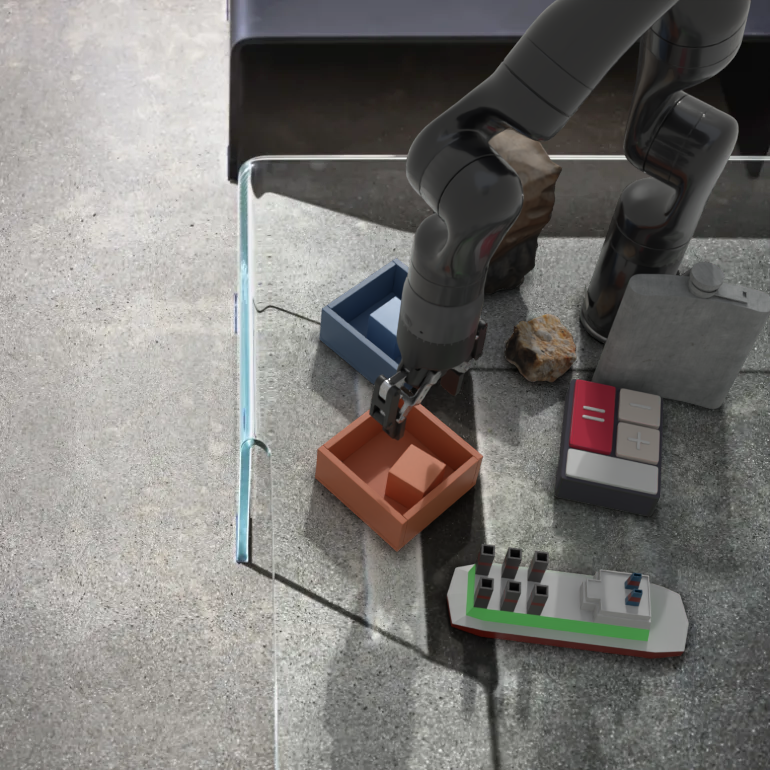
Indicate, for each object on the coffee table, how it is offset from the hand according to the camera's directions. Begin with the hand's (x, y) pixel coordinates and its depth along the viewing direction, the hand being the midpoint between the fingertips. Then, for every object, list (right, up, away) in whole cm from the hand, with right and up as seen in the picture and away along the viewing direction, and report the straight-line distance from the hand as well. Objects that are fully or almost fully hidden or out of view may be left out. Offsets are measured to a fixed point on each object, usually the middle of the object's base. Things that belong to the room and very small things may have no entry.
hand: (422, 411), depth 121 cm
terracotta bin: (-3, -8, +7) cm, 11 cm away
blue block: (-3, +8, +18) cm, 20 cm away
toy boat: (+15, -21, -1) cm, 26 cm away
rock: (+15, +6, +20) cm, 25 cm away
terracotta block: (-1, -9, +5) cm, 10 cm away
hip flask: (+29, +2, +18) cm, 34 cm away
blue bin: (-3, +8, +19) cm, 20 cm away
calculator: (+22, -5, +12) cm, 25 cm away
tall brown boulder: (+7, +17, +27) cm, 33 cm away
